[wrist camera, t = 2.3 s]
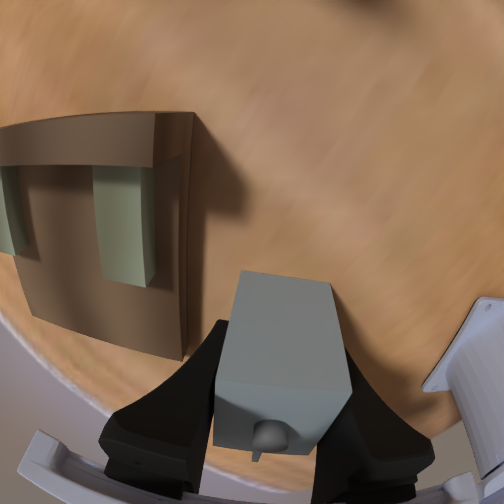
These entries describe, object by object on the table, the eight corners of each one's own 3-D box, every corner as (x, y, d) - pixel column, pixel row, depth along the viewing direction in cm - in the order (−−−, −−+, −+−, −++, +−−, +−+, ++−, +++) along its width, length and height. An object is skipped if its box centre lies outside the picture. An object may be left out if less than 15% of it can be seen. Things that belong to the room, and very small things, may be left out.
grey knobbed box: (329, 283, 13) (356, 414, 7) (295, 382, 16) (294, 485, 10) (241, 270, 13) (210, 401, 7) (229, 373, 16) (209, 476, 10)
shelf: (194, 111, 10) (155, 113, 7) (188, 346, 15) (169, 398, 12) (11, 125, 10) (-39, 138, 7) (41, 305, 16) (11, 338, 12)
